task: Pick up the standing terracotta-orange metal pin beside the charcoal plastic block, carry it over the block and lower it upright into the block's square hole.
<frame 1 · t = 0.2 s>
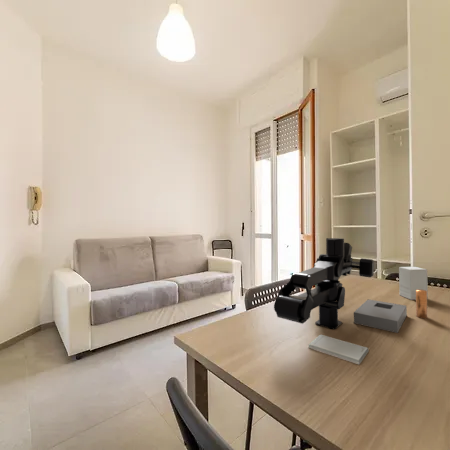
hand: (351, 262, 102), 17 cm above the table, tool horizontal, fingers open, 9 cm apart
knuckle block: (381, 319, 87), on the table
food container: (326, 296, 114), on the table
supplement box: (413, 297, 110), on the table
pin: (421, 316, 88), on the table
hard drive: (338, 352, 67), on the table
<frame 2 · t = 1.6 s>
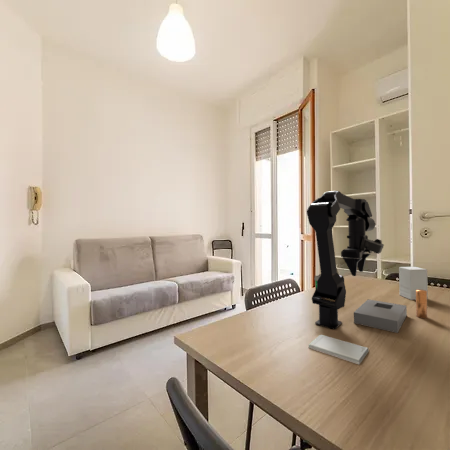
hand: (357, 273, 98), 13 cm above the table, tool pointing down, fingers open, 9 cm apart
nothing on the table moved.
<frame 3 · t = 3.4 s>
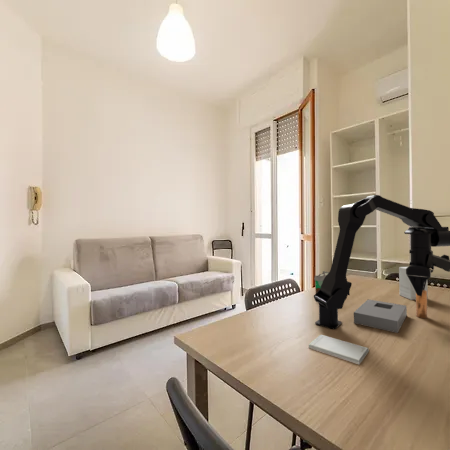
hand: (421, 292, 88), 8 cm above the table, tool pointing down, fingers open, 9 cm apart
nothing on the table moved.
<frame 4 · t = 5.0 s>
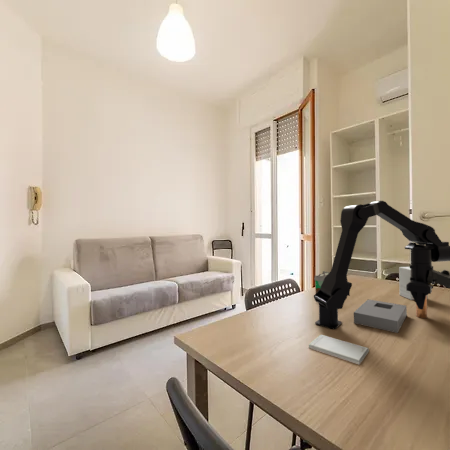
hand: (421, 307, 88), 3 cm above the table, tool pointing down, fingers closed on pin, 3 cm apart
pin: (421, 316, 88), on the table, touching gripper
everything else where it was.
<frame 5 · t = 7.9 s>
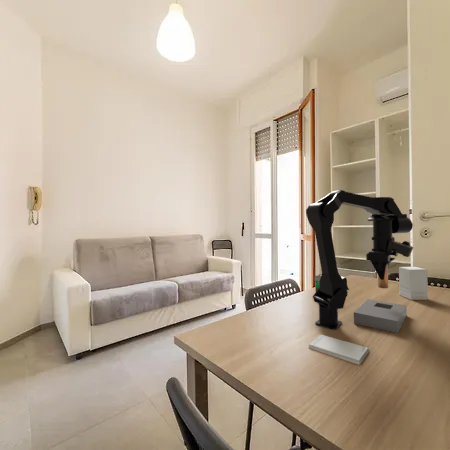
hand: (383, 278, 90), 13 cm above the table, tool pointing down, fingers closed on pin, 3 cm apart
pin: (383, 287, 90), point 10 cm above the table, touching gripper
everything else where it was.
when the fingers open (4 cm above the table, at t = 10.7 s): pin drops 2 cm, resting in knuckle block.
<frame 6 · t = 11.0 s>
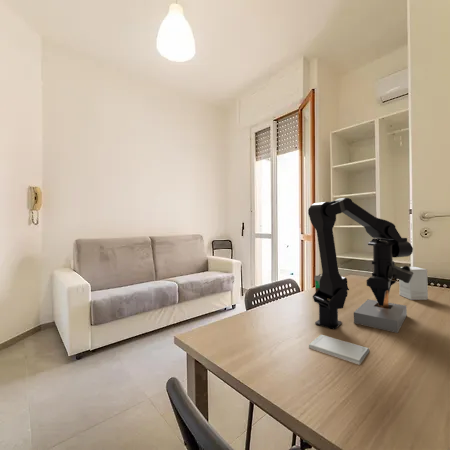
hand: (383, 302, 90), 4 cm above the table, tool pointing down, fingers open, 6 cm apart
pin: (383, 315, 90), resting in knuckle block
everything else where it was.
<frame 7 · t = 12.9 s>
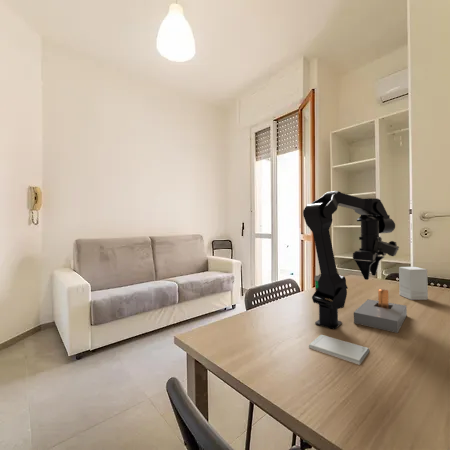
hand: (370, 277, 93), 13 cm above the table, tool pointing down, fingers open, 9 cm apart
nothing on the table moved.
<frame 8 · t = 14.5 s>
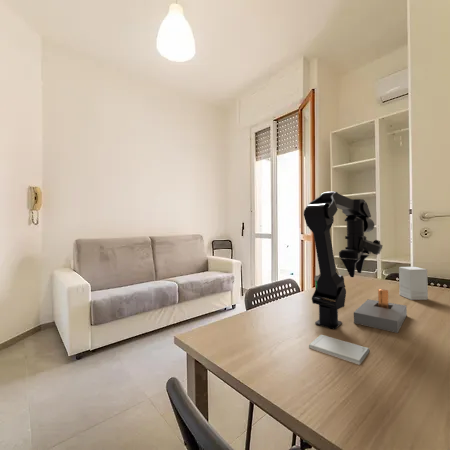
hand: (355, 275, 96), 13 cm above the table, tool pointing down, fingers open, 9 cm apart
nothing on the table moved.
at the end: pin 0.0 cm from the target spot on the knuckle block, point 0.0 cm above the knuckle block's base; pin tilted 0°; the gripper is holding nothing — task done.
